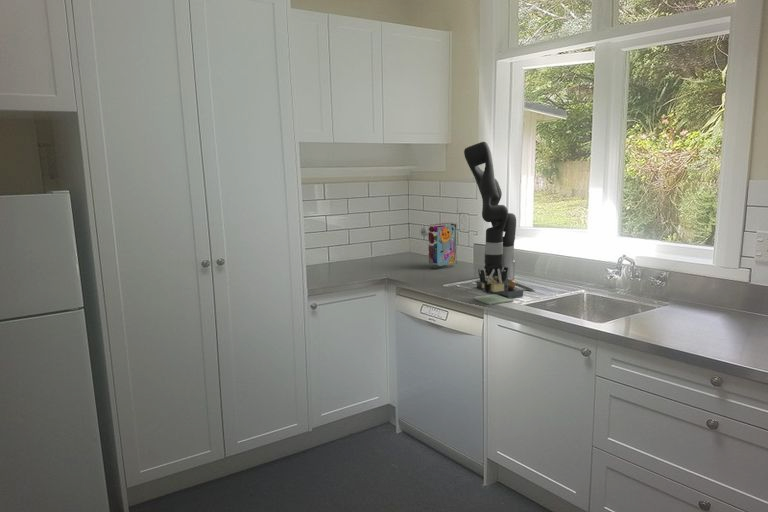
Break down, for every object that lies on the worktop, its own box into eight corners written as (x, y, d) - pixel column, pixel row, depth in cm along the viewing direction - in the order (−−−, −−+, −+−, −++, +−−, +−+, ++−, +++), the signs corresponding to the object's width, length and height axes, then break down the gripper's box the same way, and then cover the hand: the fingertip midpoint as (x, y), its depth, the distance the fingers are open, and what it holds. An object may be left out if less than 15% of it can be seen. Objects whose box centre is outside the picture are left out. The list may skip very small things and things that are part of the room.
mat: (496, 295, 245) (496, 294, 245) (513, 301, 234) (513, 300, 234) (473, 298, 240) (473, 297, 240) (489, 304, 229) (489, 303, 229)
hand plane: (490, 285, 264) (491, 269, 262) (523, 296, 242) (523, 278, 241) (476, 287, 261) (477, 270, 259) (507, 298, 239) (508, 280, 238)
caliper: (495, 285, 265) (496, 272, 264) (496, 285, 266) (497, 272, 265) (534, 292, 251) (535, 278, 250) (536, 291, 252) (536, 278, 251)
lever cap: (491, 286, 241) (491, 276, 241) (504, 290, 233) (504, 280, 233) (481, 287, 239) (482, 277, 239) (494, 291, 231) (494, 282, 231)
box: (424, 272, 296) (424, 226, 292) (416, 270, 301) (416, 225, 297) (457, 266, 311) (457, 223, 307) (449, 264, 316) (449, 222, 312)
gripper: (502, 250, 240) (501, 288, 243) (474, 252, 234) (473, 291, 237) (513, 252, 233) (511, 292, 236) (484, 255, 227) (483, 295, 230)
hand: (492, 291), depth 236 cm, fingers closed on lever cap, 5 cm apart
